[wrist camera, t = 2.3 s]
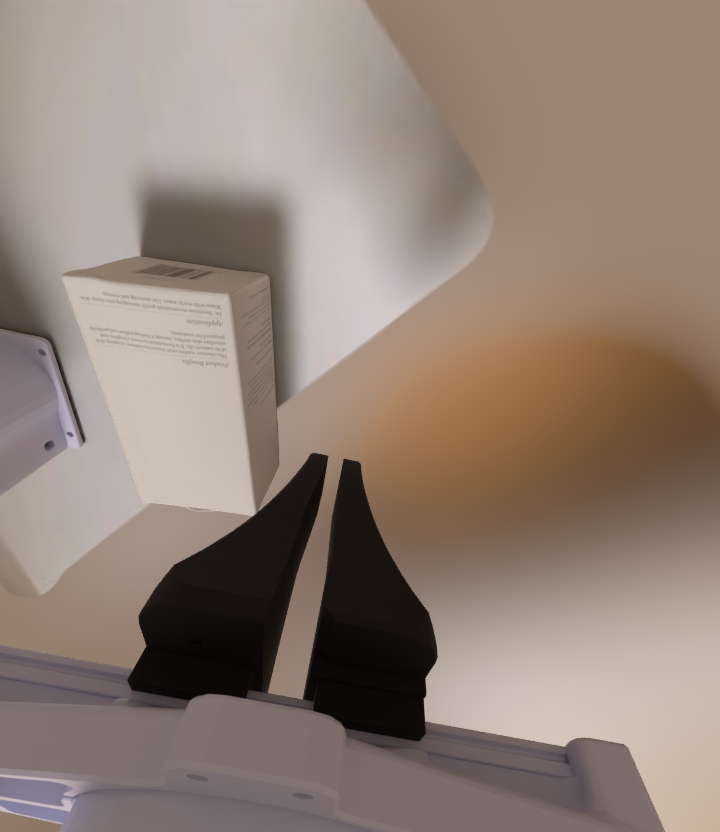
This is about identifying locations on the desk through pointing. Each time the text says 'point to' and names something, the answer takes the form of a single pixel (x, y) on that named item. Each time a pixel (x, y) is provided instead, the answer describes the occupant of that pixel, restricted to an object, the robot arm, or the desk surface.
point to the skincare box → (185, 377)
